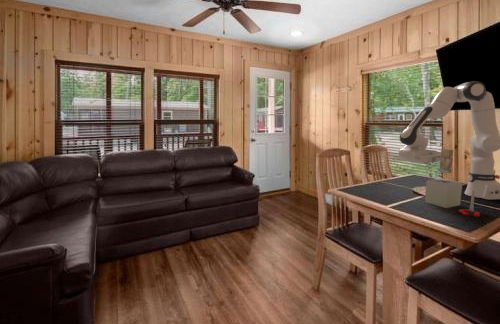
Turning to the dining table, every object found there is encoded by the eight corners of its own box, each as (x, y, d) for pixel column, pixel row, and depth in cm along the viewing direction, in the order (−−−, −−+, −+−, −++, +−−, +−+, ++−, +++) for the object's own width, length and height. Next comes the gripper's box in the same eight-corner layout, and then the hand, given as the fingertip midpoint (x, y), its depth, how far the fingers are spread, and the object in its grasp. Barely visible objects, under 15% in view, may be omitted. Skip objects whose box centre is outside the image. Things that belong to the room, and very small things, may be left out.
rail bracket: (444, 171, 158) (446, 149, 156) (451, 172, 155) (453, 149, 153) (439, 172, 157) (441, 149, 155) (446, 173, 153) (448, 150, 151)
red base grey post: (457, 210, 149) (460, 215, 141) (460, 186, 147) (463, 190, 139) (477, 212, 145) (481, 217, 137) (480, 188, 143) (484, 192, 135)
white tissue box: (438, 199, 167) (440, 178, 165) (459, 205, 156) (462, 182, 154) (424, 202, 162) (426, 180, 160) (445, 208, 151) (448, 184, 149)
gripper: (412, 152, 162) (435, 155, 150) (436, 150, 170) (460, 152, 157) (411, 163, 163) (434, 166, 151) (435, 160, 171) (459, 163, 158)
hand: (448, 159), depth 154 cm, fingers closed on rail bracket, 4 cm apart
